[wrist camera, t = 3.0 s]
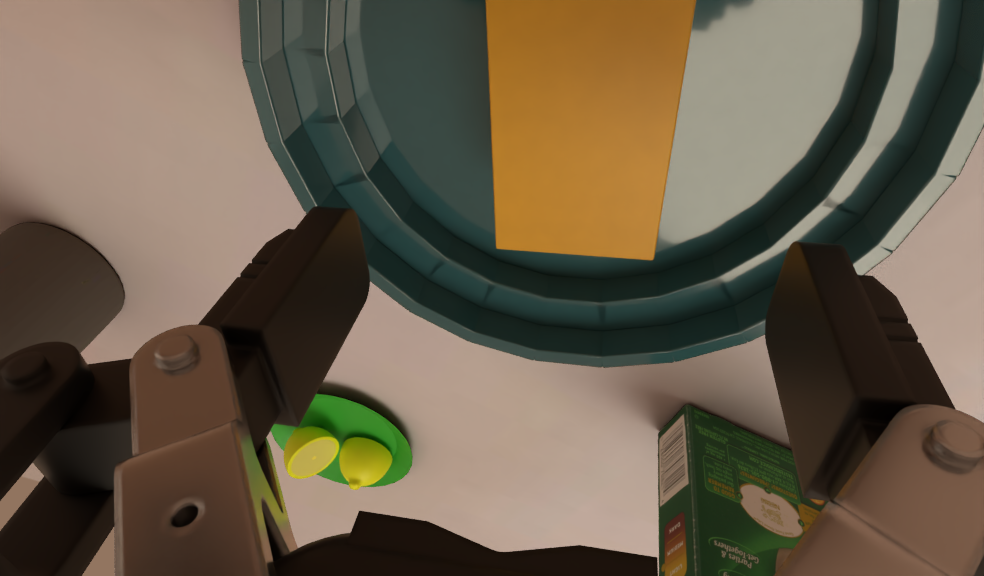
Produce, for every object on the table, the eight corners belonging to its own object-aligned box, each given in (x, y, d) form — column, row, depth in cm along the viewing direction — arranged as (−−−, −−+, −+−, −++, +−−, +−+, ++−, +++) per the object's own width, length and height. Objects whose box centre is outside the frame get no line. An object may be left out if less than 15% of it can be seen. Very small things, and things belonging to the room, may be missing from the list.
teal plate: (196, -350, 14) (110, -378, 12) (1163, -444, 11) (1306, -509, 8) (350, 291, 26) (323, 339, 24) (827, 334, 23) (849, 393, 21)
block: (511, -63, 16) (483, -29, 13) (688, -65, 16) (701, -30, 12) (515, 183, 21) (495, 249, 18) (650, 191, 20) (653, 261, 17)
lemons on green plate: (288, 463, 36) (266, 505, 34) (261, 373, 31) (233, 416, 29) (418, 488, 35) (404, 533, 33) (412, 399, 30) (395, 446, 28)
